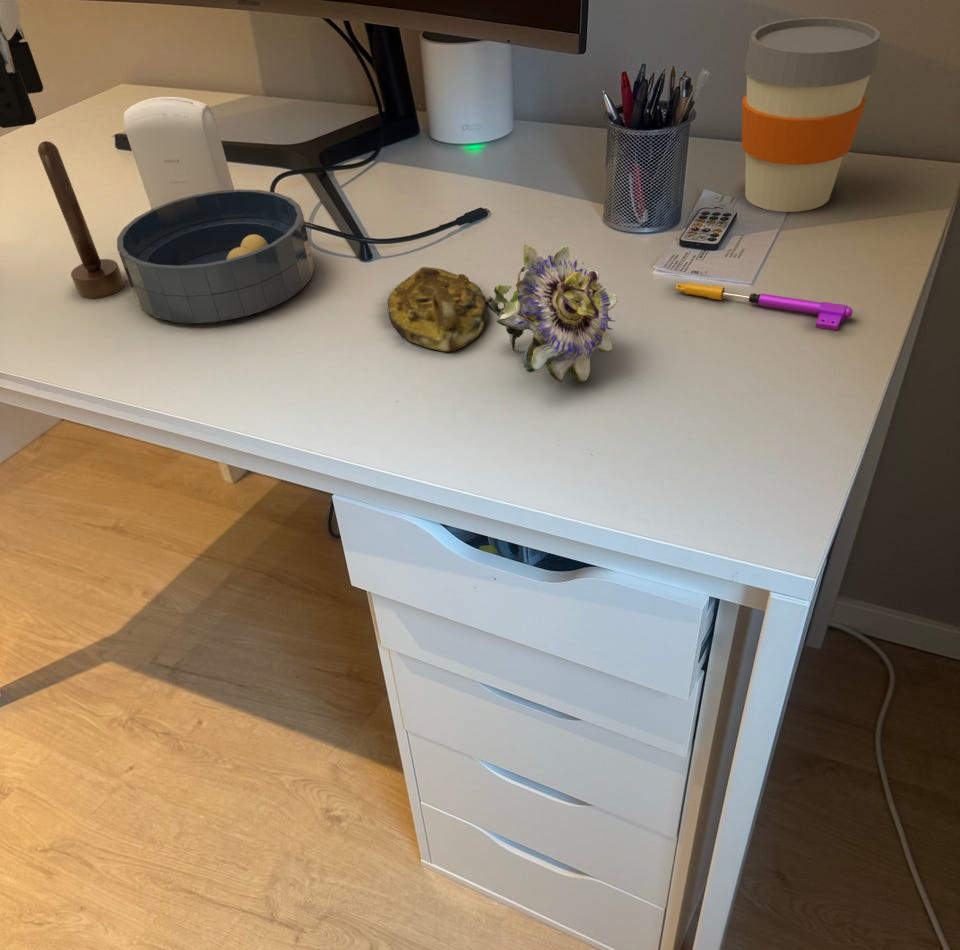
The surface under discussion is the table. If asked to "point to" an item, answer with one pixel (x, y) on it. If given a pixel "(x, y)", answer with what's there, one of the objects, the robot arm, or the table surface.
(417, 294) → the lumpy olive cookie
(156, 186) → the photo printer
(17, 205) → the table surface
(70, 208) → the wooden dough tamper
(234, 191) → the bowl
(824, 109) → the reusable coffee cup
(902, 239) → the table surface
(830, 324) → the piston cylinder
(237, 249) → the dough ball
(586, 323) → the passion flower
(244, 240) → the dough ball
